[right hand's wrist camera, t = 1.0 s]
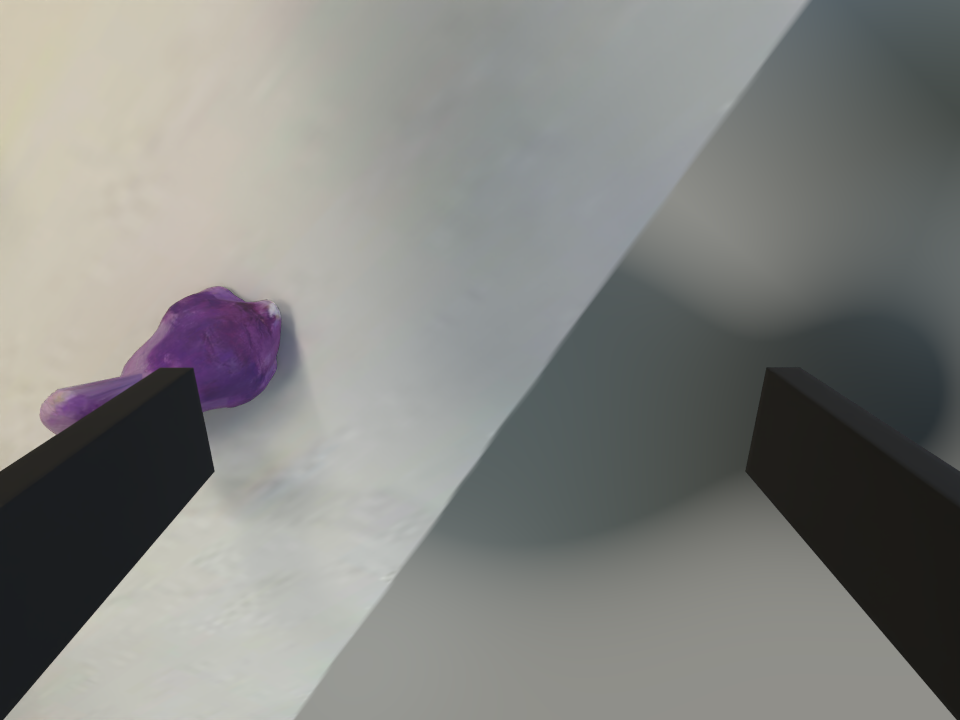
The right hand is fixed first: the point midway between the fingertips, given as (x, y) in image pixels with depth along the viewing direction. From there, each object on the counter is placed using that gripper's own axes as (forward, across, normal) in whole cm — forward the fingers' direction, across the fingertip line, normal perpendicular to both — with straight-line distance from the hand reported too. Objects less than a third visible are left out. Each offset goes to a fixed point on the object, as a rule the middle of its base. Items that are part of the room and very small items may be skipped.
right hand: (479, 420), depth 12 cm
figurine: (+27, -19, -8) cm, 34 cm away
